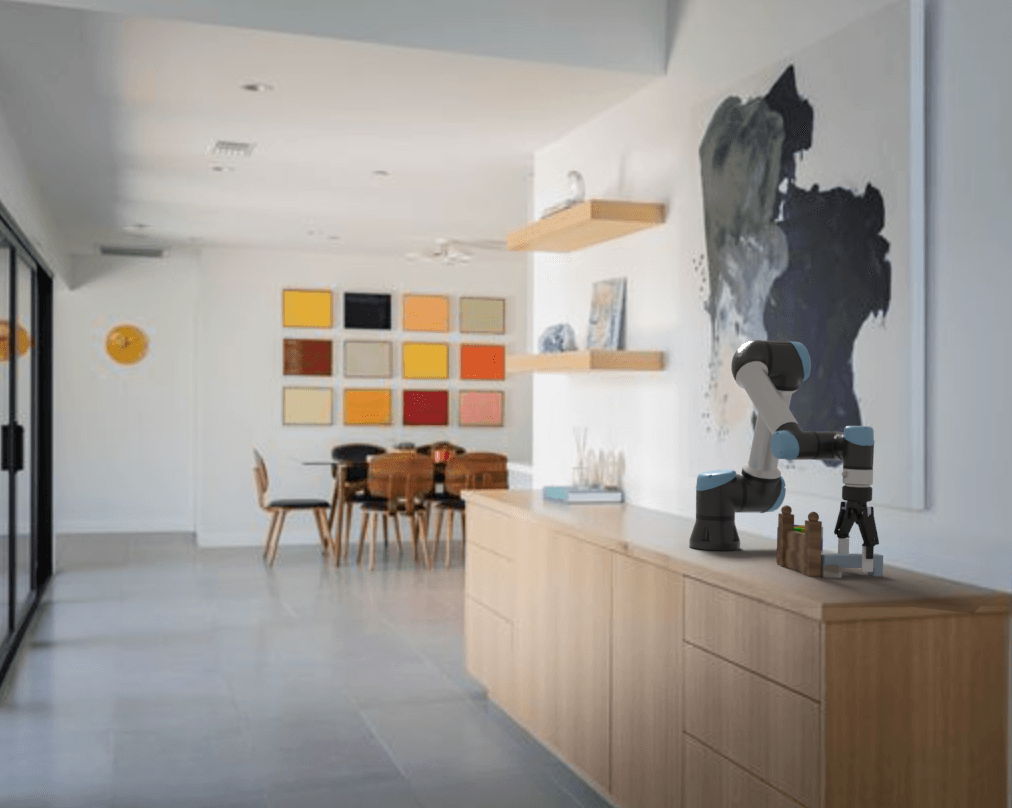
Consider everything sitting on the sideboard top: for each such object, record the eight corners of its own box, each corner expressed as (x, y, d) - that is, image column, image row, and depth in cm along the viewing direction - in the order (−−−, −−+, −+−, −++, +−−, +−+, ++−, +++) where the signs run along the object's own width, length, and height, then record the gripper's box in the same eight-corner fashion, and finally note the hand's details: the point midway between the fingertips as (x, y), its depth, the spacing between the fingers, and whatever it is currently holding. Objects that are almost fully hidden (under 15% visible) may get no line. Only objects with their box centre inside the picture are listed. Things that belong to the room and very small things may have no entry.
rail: (818, 574, 302) (818, 553, 302) (876, 574, 304) (876, 553, 304) (824, 576, 298) (824, 555, 298) (882, 576, 301) (883, 555, 301)
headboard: (777, 564, 318) (778, 504, 318) (804, 564, 319) (805, 504, 319) (812, 577, 296) (813, 513, 296) (841, 577, 297) (843, 513, 297)
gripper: (822, 481, 313) (820, 559, 314) (866, 490, 289) (863, 575, 289) (848, 481, 314) (846, 559, 315) (894, 490, 290) (892, 575, 290)
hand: (854, 567), depth 302 cm, fingers open, 13 cm apart
